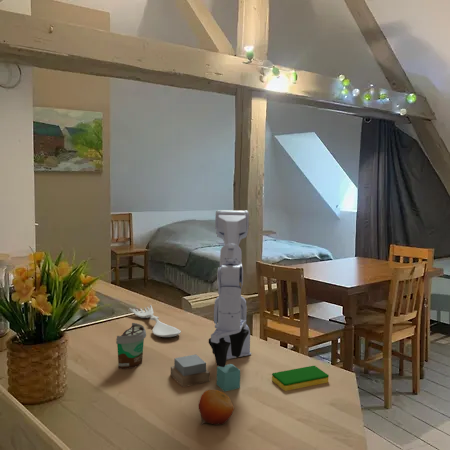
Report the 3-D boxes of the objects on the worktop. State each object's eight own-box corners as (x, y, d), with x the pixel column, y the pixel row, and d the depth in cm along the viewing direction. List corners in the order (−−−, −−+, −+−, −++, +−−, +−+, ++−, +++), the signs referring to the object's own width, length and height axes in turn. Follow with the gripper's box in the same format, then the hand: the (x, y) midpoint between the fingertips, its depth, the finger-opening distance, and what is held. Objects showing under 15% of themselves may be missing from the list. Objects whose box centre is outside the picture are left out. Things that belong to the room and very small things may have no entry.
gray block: (195, 362, 144) (196, 354, 144) (206, 371, 138) (206, 362, 138) (174, 366, 141) (174, 358, 141) (183, 376, 135) (183, 367, 135)
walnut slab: (196, 371, 145) (196, 361, 145) (209, 382, 139) (209, 372, 138) (170, 377, 142) (170, 366, 141) (182, 389, 135) (182, 378, 134)
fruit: (189, 406, 122) (207, 378, 121) (218, 421, 123) (236, 394, 122) (190, 424, 114) (209, 394, 113) (220, 440, 115) (239, 411, 114)
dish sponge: (328, 383, 139) (329, 375, 139) (284, 392, 134) (285, 384, 133) (314, 373, 146) (314, 364, 145) (271, 381, 140) (271, 372, 140)
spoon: (151, 312, 197) (151, 303, 197) (185, 339, 169) (185, 329, 169) (128, 315, 193) (128, 306, 192) (159, 343, 165) (159, 333, 165)
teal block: (231, 381, 139) (231, 363, 138) (239, 388, 135) (240, 370, 134) (216, 384, 137) (216, 366, 136) (224, 391, 133) (225, 373, 132)
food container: (137, 373, 143) (137, 338, 141) (116, 370, 144) (116, 336, 142) (152, 355, 155) (152, 323, 153) (132, 353, 156) (132, 322, 154)
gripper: (230, 301, 141) (229, 349, 143) (200, 315, 129) (200, 367, 131) (253, 305, 137) (252, 354, 139) (225, 320, 125) (224, 373, 127)
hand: (228, 361), depth 135 cm, fingers open, 7 cm apart
